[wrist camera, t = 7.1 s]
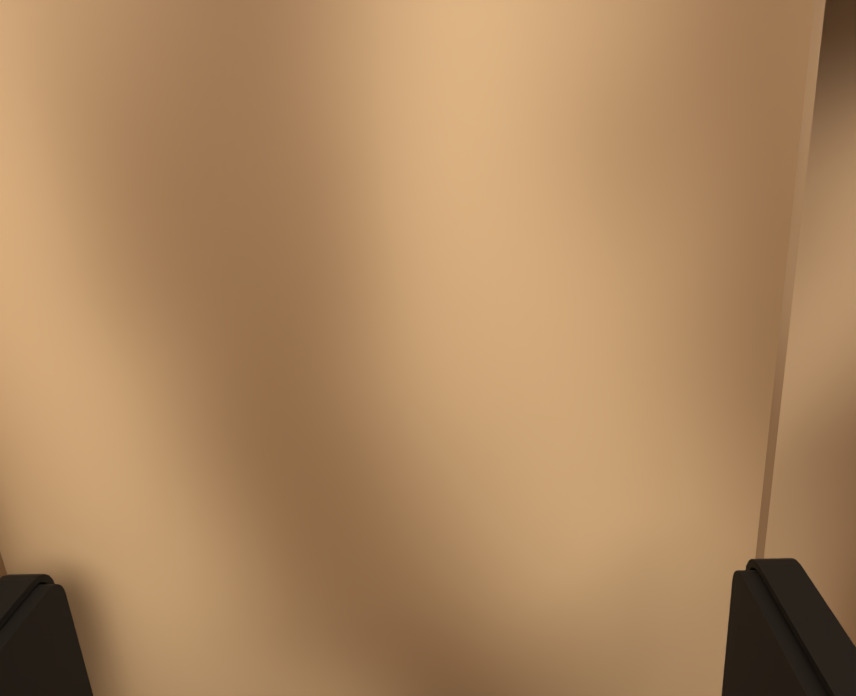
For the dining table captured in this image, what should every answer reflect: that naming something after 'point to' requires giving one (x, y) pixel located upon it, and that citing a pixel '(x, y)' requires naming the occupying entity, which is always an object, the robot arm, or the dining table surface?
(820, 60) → the box
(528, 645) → the lid
